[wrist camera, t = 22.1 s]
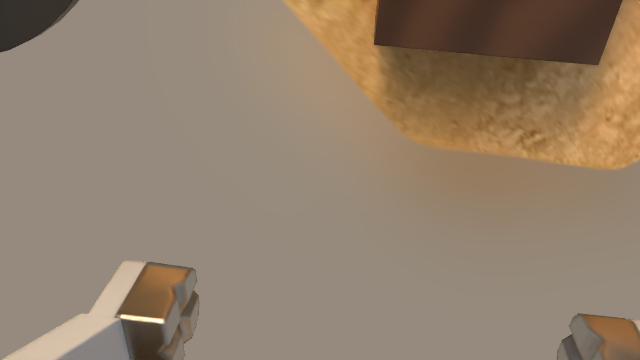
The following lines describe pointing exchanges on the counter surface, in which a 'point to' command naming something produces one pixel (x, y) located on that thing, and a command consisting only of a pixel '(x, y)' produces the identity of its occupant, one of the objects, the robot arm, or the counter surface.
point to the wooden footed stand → (500, 27)
